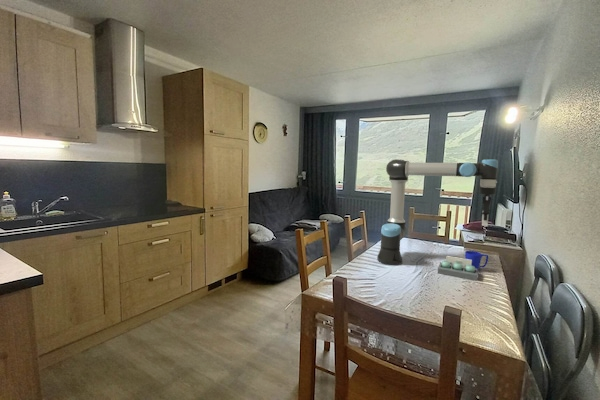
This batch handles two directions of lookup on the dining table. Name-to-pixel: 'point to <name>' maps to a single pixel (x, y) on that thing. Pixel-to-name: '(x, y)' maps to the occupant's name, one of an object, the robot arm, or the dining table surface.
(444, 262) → the button left
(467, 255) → the mug
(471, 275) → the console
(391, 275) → the dining table surface
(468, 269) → the button right
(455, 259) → the pattern card
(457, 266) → the button middle
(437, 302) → the dining table surface
